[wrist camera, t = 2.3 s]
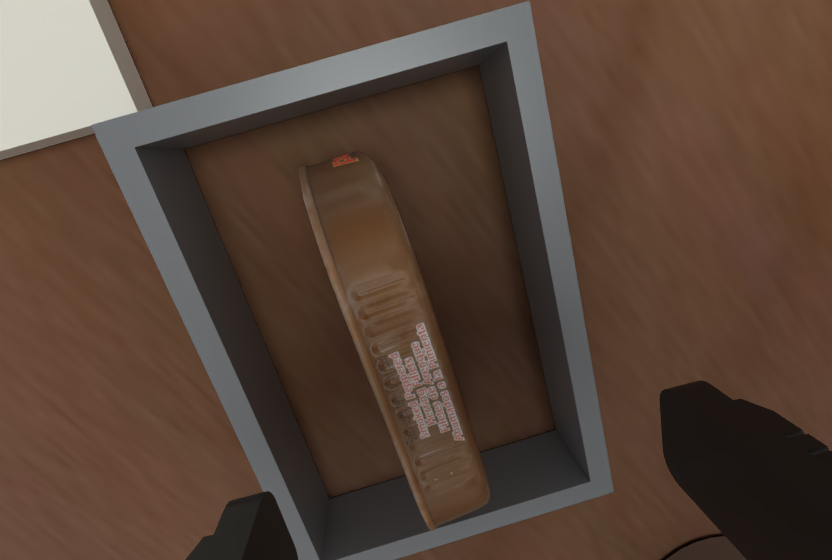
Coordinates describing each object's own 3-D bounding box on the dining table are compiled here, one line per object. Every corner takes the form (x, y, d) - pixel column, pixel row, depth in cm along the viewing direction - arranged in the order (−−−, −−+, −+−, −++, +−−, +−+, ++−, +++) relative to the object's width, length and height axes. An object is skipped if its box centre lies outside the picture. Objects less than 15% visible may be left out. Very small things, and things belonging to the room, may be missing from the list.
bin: (496, 32, 18) (529, 0, 15) (575, 439, 24) (613, 491, 21) (150, 131, 18) (90, 124, 14) (317, 517, 24) (307, 586, 20)
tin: (307, 166, 19) (261, 173, 11) (375, 144, 19) (379, 135, 11) (410, 441, 24) (431, 590, 15) (465, 422, 24) (515, 562, 15)
